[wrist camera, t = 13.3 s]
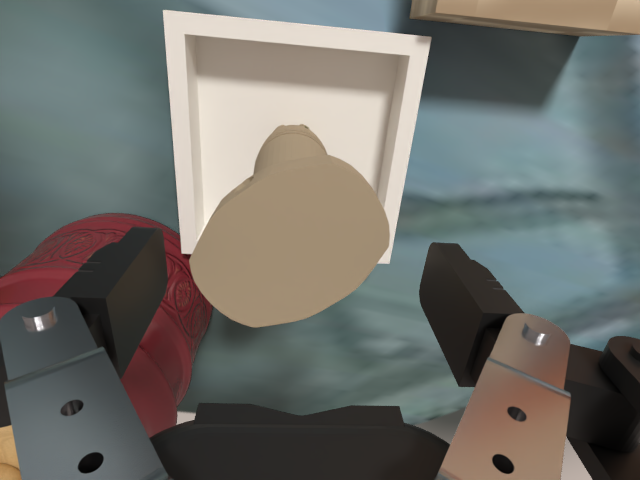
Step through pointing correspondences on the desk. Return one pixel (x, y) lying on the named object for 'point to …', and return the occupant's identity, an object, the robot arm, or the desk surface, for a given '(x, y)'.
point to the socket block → (537, 15)
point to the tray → (286, 103)
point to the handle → (290, 234)
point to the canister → (158, 341)
